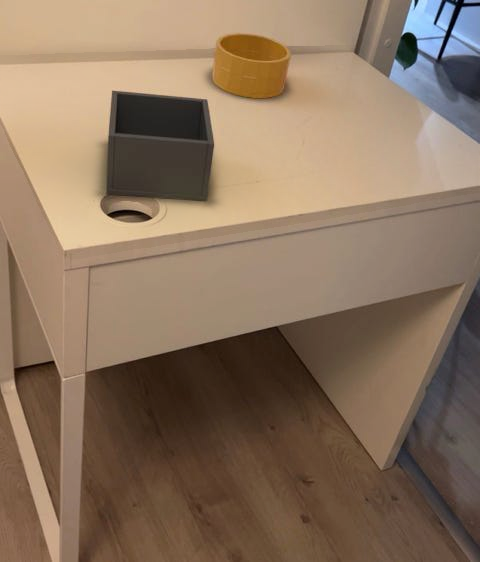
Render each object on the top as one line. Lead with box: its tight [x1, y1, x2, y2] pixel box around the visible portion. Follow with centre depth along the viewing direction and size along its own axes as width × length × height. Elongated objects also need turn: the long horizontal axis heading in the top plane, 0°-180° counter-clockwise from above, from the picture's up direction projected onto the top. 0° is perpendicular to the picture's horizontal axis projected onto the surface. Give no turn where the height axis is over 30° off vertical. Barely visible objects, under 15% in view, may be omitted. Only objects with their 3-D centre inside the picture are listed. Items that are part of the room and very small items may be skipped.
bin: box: [105, 90, 215, 202], centre depth 76 cm, size 10×10×7 cm
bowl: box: [211, 32, 292, 99], centre depth 100 cm, size 10×10×5 cm
